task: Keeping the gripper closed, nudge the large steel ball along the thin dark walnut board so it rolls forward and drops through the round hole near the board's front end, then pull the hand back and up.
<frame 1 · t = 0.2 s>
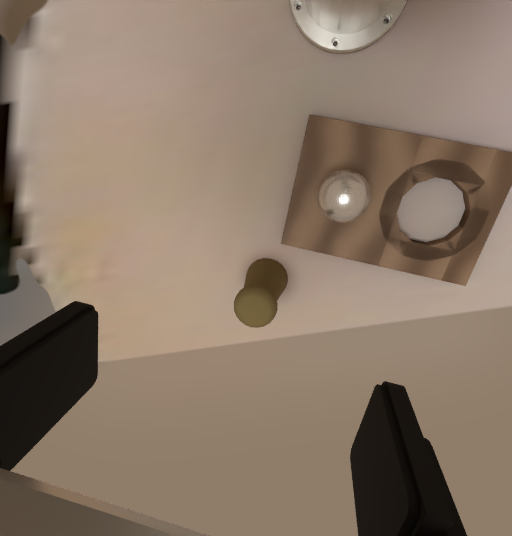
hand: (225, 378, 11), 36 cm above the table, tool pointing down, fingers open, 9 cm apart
cork: (267, 277, 48), on the table
ball: (343, 196, 38), point 4 cm above the table, touching board
board: (388, 202, 42), on the table
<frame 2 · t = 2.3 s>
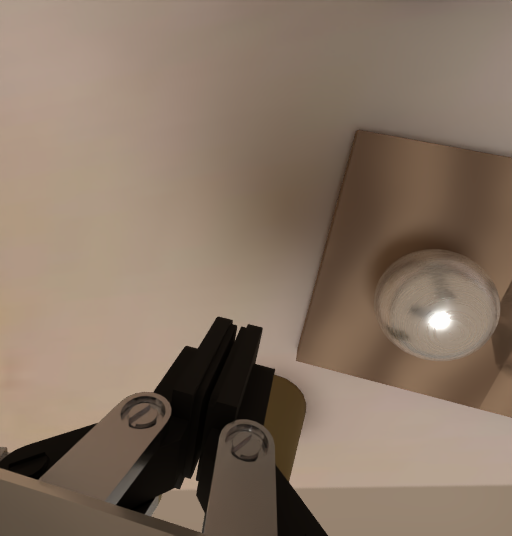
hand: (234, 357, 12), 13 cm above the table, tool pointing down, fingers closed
cork: (270, 401, 28), on the table
ball: (432, 304, 18), point 4 cm above the table, touching board
board: (505, 295, 22), on the table
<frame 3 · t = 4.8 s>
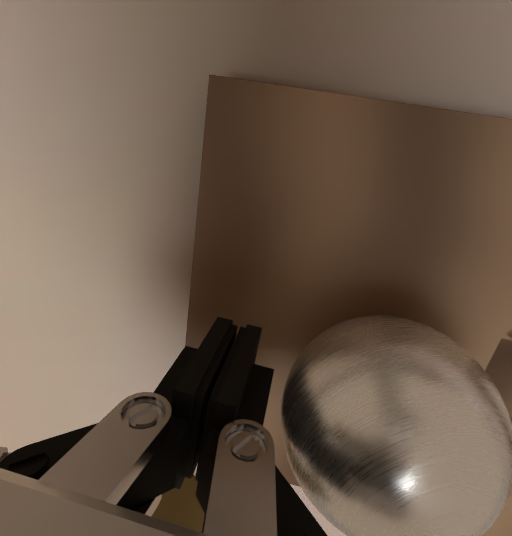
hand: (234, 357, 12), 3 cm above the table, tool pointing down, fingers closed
cork: (165, 494, 20), on the table
ball: (384, 420, 10), point 4 cm above the table, tilted 20°, touching board, gripper
board: (492, 355, 13), on the table
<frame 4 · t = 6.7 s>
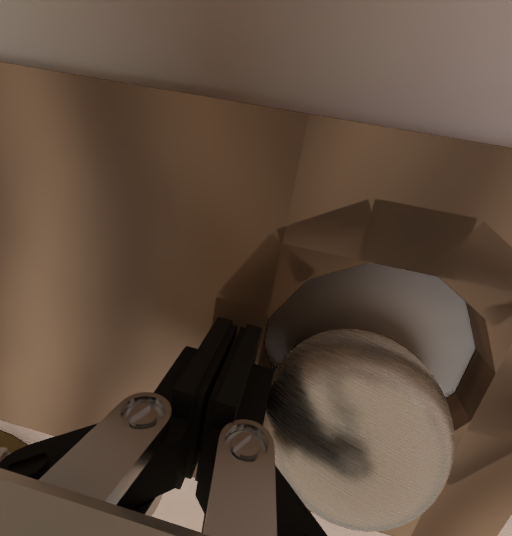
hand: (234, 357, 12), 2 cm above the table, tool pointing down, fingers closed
cork: (8, 464, 21), on the table
ball: (351, 418, 11), point 3 cm above the table, tilted 121°, touching gripper
board: (244, 319, 14), on the table
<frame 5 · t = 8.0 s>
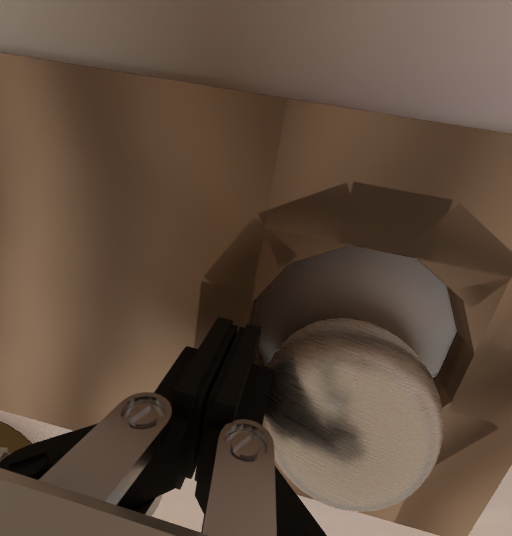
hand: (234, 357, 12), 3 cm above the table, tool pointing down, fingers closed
cork: (3, 453, 21), on the table
ball: (344, 405, 12), point 3 cm above the table, tilted 122°, touching board, gripper
board: (231, 305, 14), on the table
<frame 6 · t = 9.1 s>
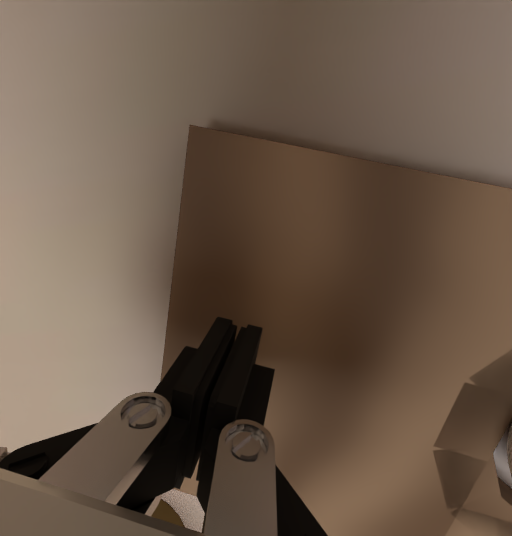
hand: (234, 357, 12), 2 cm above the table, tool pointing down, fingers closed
cork: (139, 521, 20), on the table
board: (459, 395, 13), on the table
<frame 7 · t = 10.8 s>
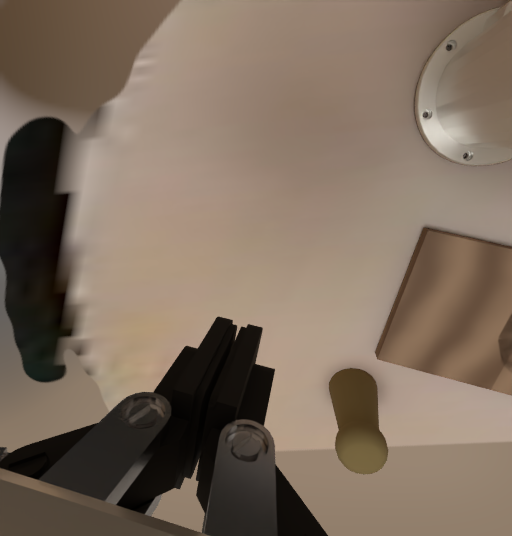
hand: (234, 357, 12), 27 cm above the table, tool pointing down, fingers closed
cork: (352, 387, 43), on the table
board: (507, 321, 37), on the table
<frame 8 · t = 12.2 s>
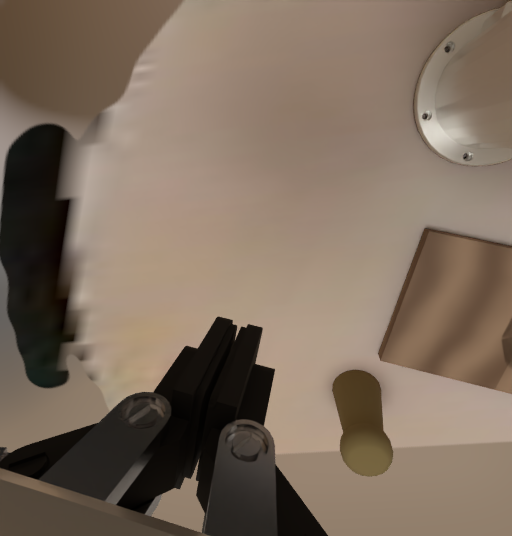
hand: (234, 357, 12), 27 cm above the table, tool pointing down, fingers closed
cork: (356, 388, 43), on the table
board: (509, 321, 37), on the table
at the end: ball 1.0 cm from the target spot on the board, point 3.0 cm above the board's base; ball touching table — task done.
